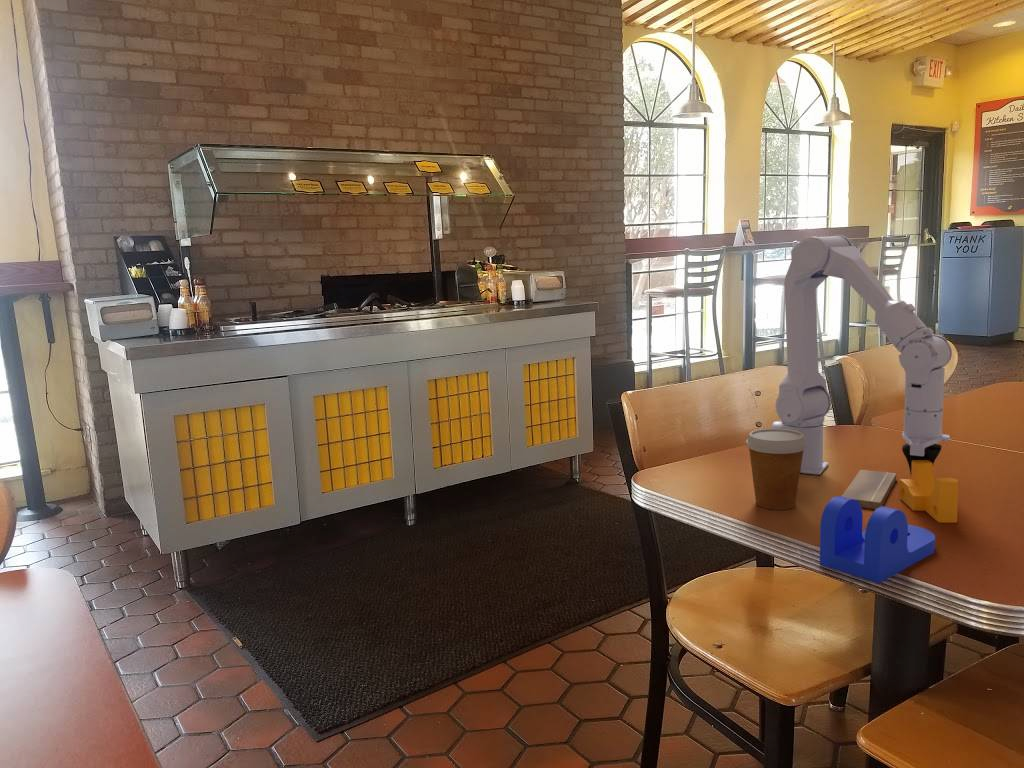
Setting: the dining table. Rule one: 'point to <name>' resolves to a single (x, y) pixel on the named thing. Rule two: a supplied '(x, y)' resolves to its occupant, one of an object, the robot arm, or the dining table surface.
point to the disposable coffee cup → (776, 466)
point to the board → (870, 488)
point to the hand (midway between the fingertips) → (920, 487)
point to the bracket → (870, 540)
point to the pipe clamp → (930, 492)
